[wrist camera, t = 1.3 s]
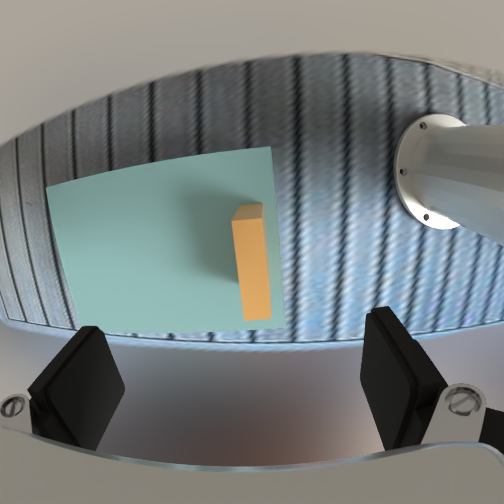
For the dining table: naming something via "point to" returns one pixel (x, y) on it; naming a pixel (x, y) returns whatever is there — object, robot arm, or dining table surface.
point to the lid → (174, 245)
